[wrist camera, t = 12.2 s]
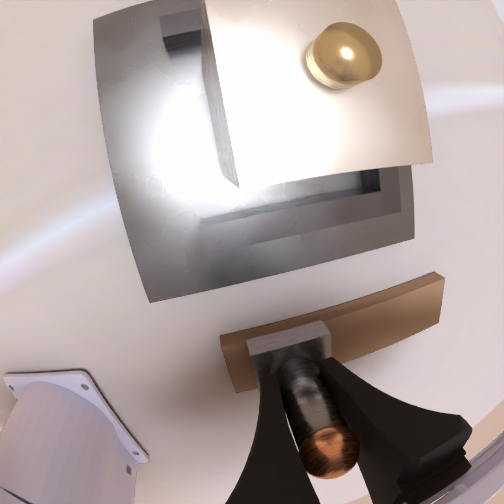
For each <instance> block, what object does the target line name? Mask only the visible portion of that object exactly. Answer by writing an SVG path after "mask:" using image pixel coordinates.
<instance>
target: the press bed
mask: <svg viewBox="0 0 504 504" xmlns="http://www.w3.org/2000/svg"><path fill="white" fill-rule="evenodd" d="M93 33H94V53H95V67H96V78H97V87H98V96H99V103H100V111H101V117H102V124H103V130H104V136H105V142H106V147H107V152H108V157H109V162H110V167H111V172H112V176H113V181H114V185H115V190H116V194H117V198H118V202H119V206H120V210H121V214H122V217H123V221H124V225H125V228H126V232H127V235H128V239H129V242H130V246H131V249H132V252H133V255H134V259H135V262H136V265H137V268H138V271H139V274H140V277H141V280H142V283H143V286H144V289H145V292H146V294H147V297H148V300H149V303H152V302H157V301H162V300H167V299H171V298H176V297H181V296H185V295H190V294H194V293H199V292H203V291H208V290H212V289H217V288H221V287H226V286H230V285H234V284H239V283H243V282H247V281H251V280H256V279H260V278H264V277H268V276H272V275H276V274H281V273H285V272H289V271H293V270H297V269H301V268H305V267H309V266H313V265H317V264H321V263H325V262H329V261H332V260H336V259H340V258H344V257H348V256H352V255H355V254H359V253H363V252H367V251H370V250H374V249H378V248H381V247H385V246H389V245H392V244H396V243H400V242H403V241H407V240H410V239H414V198H413V183H412V171H411V165H403V166H394V167H385V168H376V169H368V170H360V171H352V172H345V173H338V174H331V175H324V176H318V177H311V178H305V179H299V180H293V181H287V182H281V183H276V184H270V185H265V186H260V187H254V188H249V189H244V190H240V189H239V188H237V187H236V186H235V185H233V184H232V183H231V182H230V181H228V180H227V179H226V178H224V177H223V176H222V173H221V168H220V163H219V158H218V153H217V148H216V142H215V137H214V132H213V127H212V121H211V116H210V111H209V105H208V100H207V94H206V89H205V83H204V78H203V72H202V66H201V0H153V1H149V2H145V3H141V4H138V5H134V6H131V7H128V8H125V9H122V10H119V11H116V12H113V13H110V14H107V15H104V16H102V17H99V18H97V19H94V20H93Z"/></svg>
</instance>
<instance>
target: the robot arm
mask: <svg viewBox="0 0 504 504" xmlns="http://www.w3.org/2000/svg"><path fill="white" fill-rule="evenodd" d="M319 367H320V374H321V376H322V378H323V380H324V382H325V384H326V386H327V387H328V389H329V391H330V393H331V395H332V397H333V399H334V400H335V402H336V404H337V406H338V408H339V410H340V411H341V413H342V415H343V417H344V419H345V421H346V423H347V424H348V426H349V428H350V429H351V430H352V431H353V432H354V433H355V434H356V435H357V437H358V439H359V442H360V448H361V449H360V456H359V458H358V461H357V463H358V465H359V468H360V470H361V473H362V475H363V478H364V480H365V483H366V486H367V488H368V491H369V494H370V497H371V499H372V502H373V504H430V503H432V502H433V501H435V500H437V499H438V498H440V497H441V496H443V495H444V494H446V493H447V492H449V493H447V494H446V495H445V496H443V497H442V498H441V499H439V500H438V501H436V502H435V503H434V504H485V503H487V502H488V501H489V500H490V499H491V498H492V497H493V496H494V495H495V494H497V493H498V492H499V491H500V490H501V489H502V488H503V487H504V432H502V433H501V434H500V435H499V436H498V437H497V438H496V439H495V440H494V441H493V442H491V443H490V444H489V445H488V446H487V447H486V448H484V449H483V450H482V451H481V452H480V453H478V454H477V455H476V456H475V457H474V458H472V459H471V460H470V461H468V460H467V459H466V458H465V456H464V455H465V454H466V451H465V450H464V449H463V446H464V445H465V443H466V442H467V440H468V439H469V437H470V435H471V433H472V427H471V426H470V425H469V424H468V423H467V421H466V420H465V419H464V418H462V417H461V416H460V415H455V414H447V413H440V412H436V411H431V410H427V409H423V408H420V407H417V406H414V405H411V404H408V403H405V402H403V401H401V400H398V399H396V398H394V397H392V396H390V395H388V394H386V393H384V392H382V391H380V390H378V389H377V388H375V387H373V386H372V385H370V384H369V383H367V382H366V381H364V380H363V379H361V378H360V377H358V376H357V375H355V374H354V373H353V372H351V371H350V370H349V369H347V368H346V367H345V366H343V365H342V364H341V363H340V362H338V361H337V360H336V359H335V358H333V357H329V358H326V359H323V360H320V361H319ZM3 381H4V383H5V384H6V386H7V387H8V389H9V390H10V391H11V393H12V394H13V396H14V397H15V398H16V400H17V403H16V404H15V406H14V408H13V410H12V412H11V414H10V416H9V417H8V419H7V421H6V423H5V425H4V427H3V429H2V431H1V433H0V504H134V496H135V484H136V474H137V464H138V463H146V462H148V461H149V457H148V455H147V454H146V453H145V452H144V451H143V450H142V449H141V447H140V446H139V445H138V444H137V443H136V441H135V440H134V439H133V438H132V436H131V435H130V434H129V433H128V431H127V430H126V429H125V427H124V426H123V425H122V423H121V422H120V421H119V419H118V418H117V417H116V415H115V414H114V413H113V411H112V410H111V408H110V407H109V405H108V404H107V403H106V401H105V400H104V398H103V397H102V395H101V394H100V392H99V391H98V389H97V388H96V386H95V384H94V383H93V381H92V380H91V378H90V376H89V375H88V374H87V373H86V372H84V371H80V370H78V371H65V372H50V373H27V374H5V375H4V376H3ZM85 384H86V385H85ZM259 384H260V406H259V415H258V421H257V427H256V432H255V436H254V440H253V444H252V447H251V451H250V453H249V456H248V459H247V462H246V465H245V467H244V469H243V472H242V474H241V476H240V478H239V480H238V482H237V484H236V486H235V488H234V490H233V492H232V493H231V495H230V497H229V498H228V500H227V502H226V503H225V504H320V502H319V499H318V497H317V495H316V493H315V491H314V488H313V486H312V484H311V482H310V479H309V477H308V475H307V472H306V470H305V467H304V465H303V463H302V460H301V458H300V455H299V453H298V450H297V448H296V445H295V443H294V440H293V437H292V435H291V432H290V429H289V426H288V423H287V419H286V414H285V410H284V405H283V401H282V396H281V391H280V387H279V383H278V381H277V378H276V376H275V374H271V375H267V376H263V377H260V379H259Z"/></svg>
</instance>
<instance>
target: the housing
mask: <svg viewBox="0 0 504 504" xmlns="http://www.w3.org/2000/svg"><path fill="white" fill-rule="evenodd" d="M201 66H202V72H203V78H204V83H205V89H206V94H207V100H208V105H209V111H210V116H211V121H212V127H213V132H214V137H215V142H216V148H217V153H218V158H219V163H220V168H221V173H222V176H223V177H224V178H226V179H227V180H228V181H230V182H231V183H232V184H233V185H235V186H236V187H237V188H239V189H240V190H244V189H249V188H254V187H260V186H265V185H270V184H276V183H281V182H287V181H293V180H299V179H305V178H311V177H318V176H324V175H331V174H338V173H345V172H352V171H360V170H368V169H376V168H385V167H394V166H403V165H414V164H425V163H433V157H432V147H431V139H430V131H429V124H428V118H427V112H426V106H425V101H424V96H423V91H422V86H421V82H420V77H419V73H418V69H417V65H416V61H415V58H414V54H413V50H412V47H411V44H410V40H409V37H408V34H407V31H406V28H405V25H404V22H403V19H402V17H401V14H400V11H399V9H398V6H397V4H396V1H395V0H201Z"/></svg>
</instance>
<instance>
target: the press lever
mask: <svg viewBox="0 0 504 504" xmlns="http://www.w3.org/2000/svg"><path fill="white" fill-rule="evenodd" d="M246 342H247V346H248V350H249V354H250V357H251V361H252V365H253V369H254V373H255V377H256V381H257V385H258V388H259V392H260V384H259V379H260V377H263V376H267V375H271V374H275V376H276V378H277V381H278V383H279V387H280V391H281V396H282V401H283V405H284V409H285V412H286V415H287V418H288V421H289V424H290V427H291V430H292V432H293V435H294V438H295V441H296V444H297V447H298V449H299V455H300V458H301V460H302V463H303V465H304V467H305V470H306V472H307V473H309V474H310V475H312V476H314V477H316V478H320V479H333V478H337V477H340V476H342V475H344V474H346V473H347V472H349V471H350V470H351V469H352V468H353V467H354V466H355V464H356V463H357V461H358V458H359V456H360V449H361V448H360V442H359V439H358V437H357V435H356V434H355V433H354V432H353V431H352V430H351V429H350V428H349V426H348V424H347V423H346V421H345V419H344V417H343V415H342V413H341V411H340V410H339V408H338V406H337V404H336V402H335V400H334V399H333V397H332V395H331V393H330V391H329V389H328V387H327V386H326V384H325V382H324V380H323V378H322V376H321V374H320V367H319V361H320V360H323V359H326V358H329V357H332V351H331V333H330V332H329V330H328V329H327V327H326V326H325V325H324V323H323V322H322V320H319V321H316V322H312V323H309V324H305V325H302V326H298V327H294V328H291V329H287V330H283V331H280V332H276V333H272V334H268V335H264V336H260V337H256V338H252V339H248V340H246Z"/></svg>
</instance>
